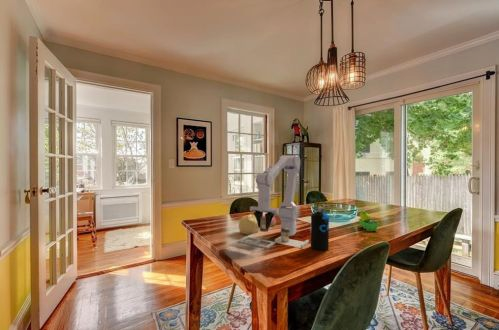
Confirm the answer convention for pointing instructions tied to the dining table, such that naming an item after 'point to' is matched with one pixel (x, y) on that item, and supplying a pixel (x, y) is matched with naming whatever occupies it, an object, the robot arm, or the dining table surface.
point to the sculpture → (248, 224)
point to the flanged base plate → (292, 242)
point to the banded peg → (263, 224)
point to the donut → (272, 221)
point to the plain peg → (285, 234)
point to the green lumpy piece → (367, 222)
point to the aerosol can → (319, 231)
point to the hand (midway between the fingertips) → (263, 227)
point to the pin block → (257, 242)
